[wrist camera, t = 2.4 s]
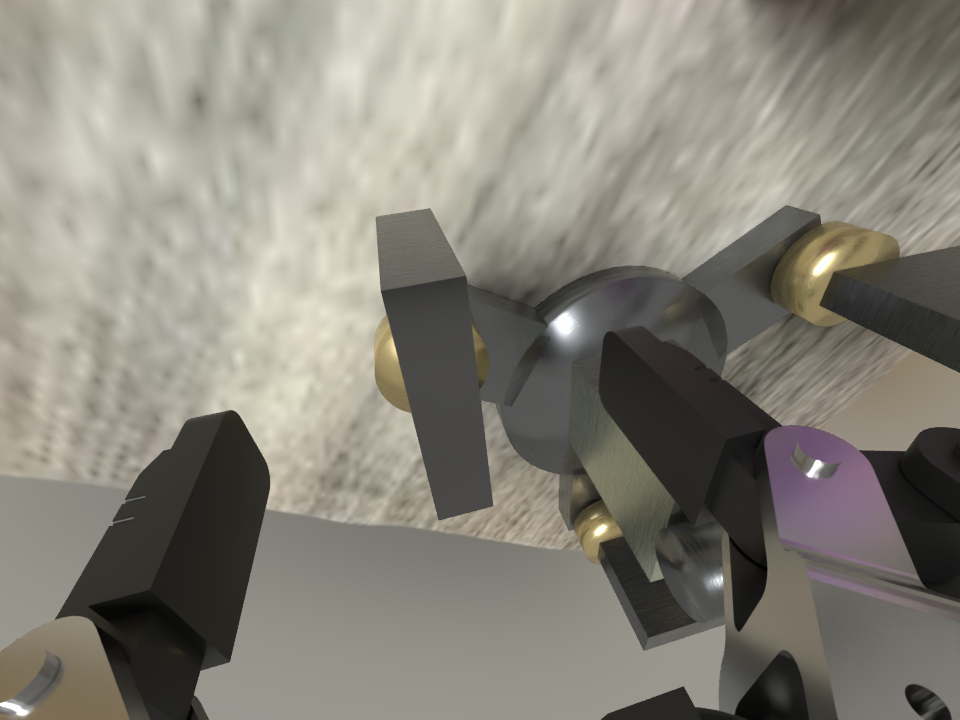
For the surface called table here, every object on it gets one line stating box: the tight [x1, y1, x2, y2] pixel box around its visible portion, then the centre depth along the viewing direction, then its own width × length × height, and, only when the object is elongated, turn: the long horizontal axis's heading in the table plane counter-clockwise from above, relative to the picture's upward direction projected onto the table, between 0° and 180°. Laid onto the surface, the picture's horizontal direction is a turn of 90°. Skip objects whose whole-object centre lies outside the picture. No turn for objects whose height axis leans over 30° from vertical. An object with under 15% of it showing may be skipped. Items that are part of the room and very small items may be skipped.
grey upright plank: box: [374, 209, 493, 520], centre depth 14 cm, size 9×5×8 cm, turn 5°
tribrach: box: [467, 205, 821, 623], centre depth 21 cm, size 25×22×14 cm
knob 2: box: [771, 221, 960, 373], centre depth 19 cm, size 9×5×8 cm, turn 95°
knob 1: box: [574, 499, 725, 651], centre depth 27 cm, size 9×5×8 cm, turn 95°
